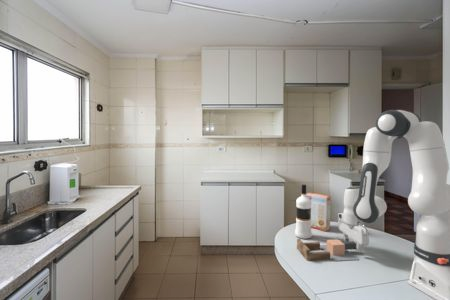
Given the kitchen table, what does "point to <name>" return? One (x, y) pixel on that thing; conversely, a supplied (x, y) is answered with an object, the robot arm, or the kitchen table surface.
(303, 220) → the vodka
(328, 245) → the terracotta block
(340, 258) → the grey pad
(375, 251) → the kitchen table surface
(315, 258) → the brown wooden tray
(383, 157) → the robot arm
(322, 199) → the cracker box
